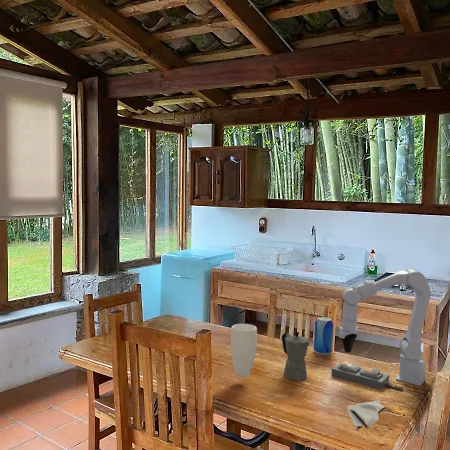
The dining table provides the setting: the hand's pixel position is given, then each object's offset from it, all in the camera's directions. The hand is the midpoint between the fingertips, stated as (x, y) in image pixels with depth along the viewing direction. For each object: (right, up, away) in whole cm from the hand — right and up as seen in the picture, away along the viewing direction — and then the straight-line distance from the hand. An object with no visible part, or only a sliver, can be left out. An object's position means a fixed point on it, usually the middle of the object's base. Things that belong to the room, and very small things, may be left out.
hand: (347, 351), depth 188 cm
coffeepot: (-22, -9, -1) cm, 24 cm away
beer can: (-4, -8, +27) cm, 28 cm away
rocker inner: (+8, -6, -7) cm, 12 cm away
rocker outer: (0, -6, -1) cm, 6 cm away
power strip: (+6, -10, -6) cm, 13 cm away
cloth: (-3, -13, -33) cm, 35 cm away
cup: (-43, -9, -11) cm, 45 cm away
